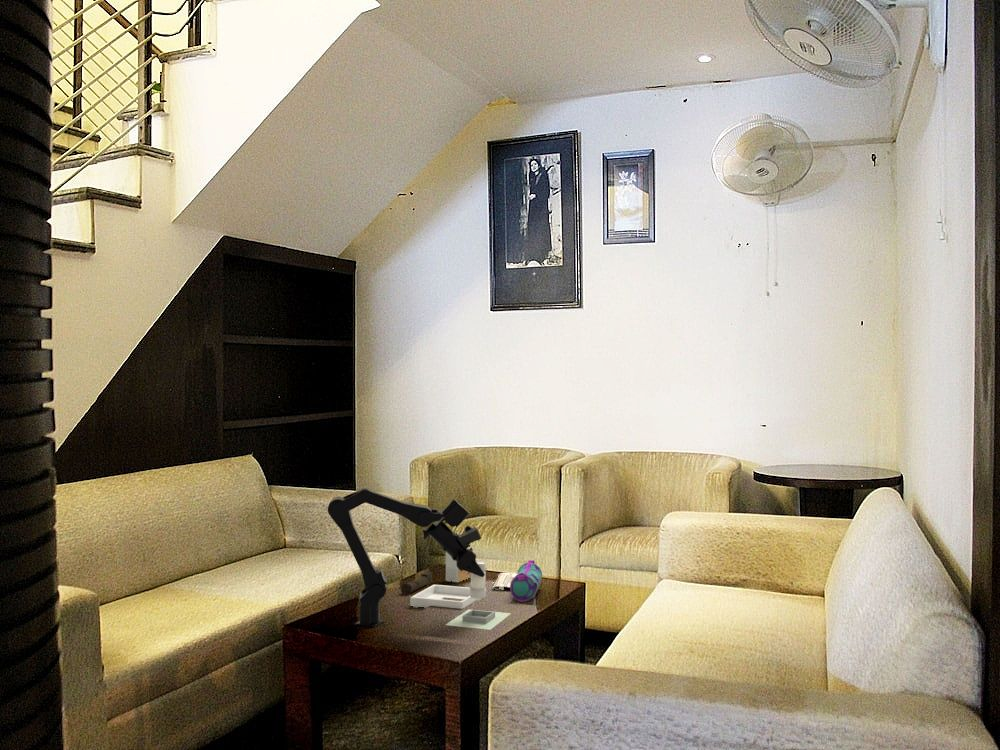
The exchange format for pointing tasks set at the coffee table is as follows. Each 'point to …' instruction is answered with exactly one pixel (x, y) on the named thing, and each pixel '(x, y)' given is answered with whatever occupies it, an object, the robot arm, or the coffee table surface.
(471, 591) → the white light bulb
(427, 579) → the hand tool
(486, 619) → the green board with frame
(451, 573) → the small box
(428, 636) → the coffee table surface
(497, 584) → the newspaper
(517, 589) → the pencil case
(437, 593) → the parts tray
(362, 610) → the robot arm
